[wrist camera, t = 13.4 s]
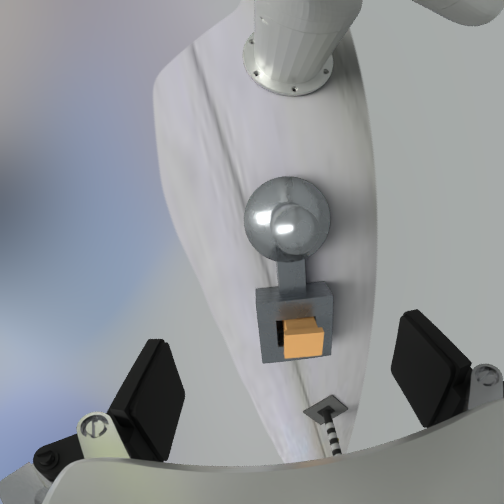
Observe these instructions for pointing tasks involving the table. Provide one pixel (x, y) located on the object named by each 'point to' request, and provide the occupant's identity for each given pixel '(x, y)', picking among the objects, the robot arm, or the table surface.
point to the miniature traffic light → (328, 418)
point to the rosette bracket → (289, 259)
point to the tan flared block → (302, 338)
